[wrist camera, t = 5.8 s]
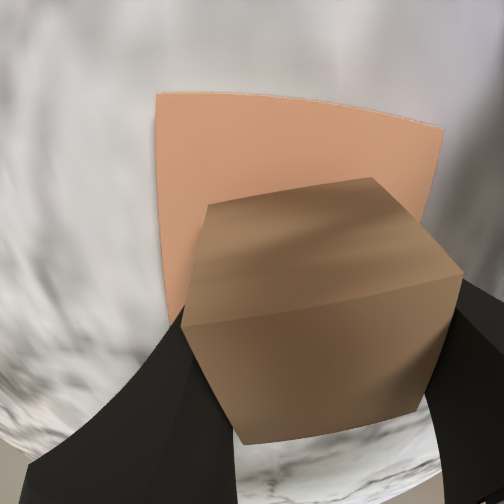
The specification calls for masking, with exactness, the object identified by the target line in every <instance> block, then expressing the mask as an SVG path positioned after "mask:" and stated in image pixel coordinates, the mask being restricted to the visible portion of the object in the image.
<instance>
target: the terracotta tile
mask: <svg viewBox="0 0 504 504" xmlns="http://www.w3.org/2000/svg"><path fill="white" fill-rule="evenodd" d="M443 135H444V130H442V129H440V128H437V127H435V126H433V125H430V124H426V123H423V122H419V121H415V120H411V119H407V118H403V117H399V116H395V115H391V114H387V113H382V112H378V111H373V110H368V109H363V108H358V107H353V106H347V105H341V104H335V103H329V102H323V101H316V100H308V99H301V98H292V97H283V96H273V95H261V94H247V93H227V92H162V93H159V94H156V171H157V194H158V212H159V226H160V239H161V251H162V262H163V272H164V282H165V291H166V299H167V307H168V315H169V322H170V326H171V325H172V323H173V322H174V320H175V319H176V317H177V316H178V314H179V312H180V311H181V309H182V308H183V306H184V305H185V303H186V298H187V293H188V289H189V284H190V279H191V275H192V270H193V266H194V262H195V257H196V253H197V249H198V244H199V240H200V236H201V232H202V228H203V224H204V219H205V215H206V211H207V207H208V205H209V204H214V203H219V202H224V201H229V200H234V199H239V198H244V197H250V196H255V195H261V194H266V193H272V192H278V191H283V190H289V189H295V188H301V187H308V186H314V185H320V184H327V183H333V182H340V181H347V180H354V179H361V178H369V177H372V178H374V179H375V180H376V181H377V182H378V183H379V184H380V185H381V186H382V187H383V188H384V189H385V190H386V191H388V192H389V193H390V194H391V195H392V196H393V197H394V198H395V199H396V200H397V201H398V202H399V203H400V204H401V205H402V206H403V207H404V208H405V209H406V210H407V211H408V212H409V213H410V214H411V215H412V216H413V217H414V218H415V219H416V220H417V221H418V222H419V223H421V219H422V216H423V213H424V210H425V206H426V203H427V200H428V196H429V192H430V189H431V185H432V181H433V178H434V174H435V170H436V166H437V162H438V157H439V153H440V149H441V144H442V139H443Z"/></svg>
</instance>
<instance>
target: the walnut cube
mask: <svg viewBox="0 0 504 504" xmlns="http://www.w3.org/2000/svg"><path fill="white" fill-rule="evenodd" d="M463 275H464V272H463V271H462V270H461V269H460V267H459V266H458V265H457V264H456V263H455V262H454V260H453V259H452V258H451V257H450V256H449V255H448V254H447V252H446V251H445V250H444V249H443V248H442V247H441V246H440V245H439V243H438V242H437V241H436V240H435V239H434V238H433V237H432V236H431V235H430V234H429V233H428V232H427V231H426V229H425V228H424V227H423V226H422V225H421V224H420V223H419V222H418V221H417V220H416V219H415V218H414V217H413V216H412V215H411V214H410V213H409V212H408V211H407V210H406V209H405V208H404V207H403V206H402V205H401V204H400V203H399V202H398V201H397V200H396V199H395V198H394V197H393V196H392V195H391V194H390V193H389V192H388V191H386V190H385V189H384V188H383V187H382V186H381V185H380V184H379V183H378V182H377V181H376V180H375V179H374V178H372V177H369V178H361V179H354V180H347V181H340V182H333V183H327V184H320V185H314V186H308V187H301V188H295V189H289V190H283V191H278V192H272V193H266V194H261V195H255V196H250V197H244V198H239V199H234V200H229V201H224V202H219V203H214V204H209V205H208V207H207V211H206V215H205V219H204V224H203V228H202V232H201V236H200V240H199V244H198V249H197V253H196V257H195V262H194V266H193V270H192V275H191V279H190V284H189V289H188V293H187V298H186V303H185V307H184V312H183V317H182V322H181V329H182V331H183V333H184V335H185V337H186V339H187V341H188V343H189V345H190V347H191V349H192V351H193V353H194V355H195V357H196V359H197V361H198V363H199V365H200V367H201V369H202V371H203V373H204V375H205V377H206V379H207V381H208V383H209V385H210V387H211V388H212V390H213V392H214V394H215V396H216V398H217V400H218V401H219V403H220V405H221V407H222V409H223V411H224V412H225V414H226V416H227V418H228V419H229V421H230V423H231V425H232V426H233V428H234V430H235V432H236V433H237V435H238V437H239V438H240V440H241V442H242V443H243V445H252V444H262V443H271V442H280V441H287V440H294V439H301V438H307V437H313V436H319V435H324V434H330V433H335V432H340V431H344V430H349V429H353V428H358V427H362V426H366V425H370V424H374V423H377V422H381V421H385V420H388V419H392V418H395V417H399V416H402V415H405V414H409V413H412V412H415V411H416V410H417V408H418V406H419V404H420V401H421V399H422V397H423V395H424V392H425V390H426V388H427V385H428V383H429V381H430V378H431V376H432V373H433V371H434V368H435V366H436V363H437V360H438V358H439V355H440V352H441V349H442V347H443V344H444V341H445V338H446V335H447V332H448V329H449V326H450V323H451V319H452V316H453V313H454V309H455V306H456V302H457V299H458V295H459V291H460V287H461V283H462V279H463Z"/></svg>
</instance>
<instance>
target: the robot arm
mask: <svg viewBox="0 0 504 504" xmlns="http://www.w3.org/2000/svg"><path fill="white" fill-rule="evenodd" d="M184 307H185V305H184V306H183V308H182V309H181V311H180V312H179V314H178V316H177V317H176V319H175V320H174V322H173V323H172V325H171V326H170V328H169V329H168V331H167V332H166V334H165V335H164V337H163V338H162V340H161V341H160V342H159V344H158V345H157V346H156V348H155V349H154V351H153V352H152V353H151V355H150V356H149V357H148V359H147V360H146V361H145V363H144V364H143V365H142V366H141V368H140V369H139V370H138V371H137V373H136V374H135V375H134V376H133V377H132V378H131V379H130V380H129V382H128V383H127V384H126V385H125V386H124V387H123V388H122V389H121V390H120V392H119V393H118V394H117V395H115V396H114V397H113V398H112V399H111V400H110V401H109V402H108V403H107V404H106V405H105V406H104V407H103V408H102V409H101V410H100V411H99V412H98V413H97V414H96V415H95V416H94V417H93V418H92V419H90V420H89V421H88V422H87V423H86V424H85V425H84V426H82V427H81V428H80V429H79V430H77V431H76V432H75V433H74V434H72V435H71V436H70V437H69V438H67V439H66V440H65V441H63V442H62V443H61V444H59V445H58V446H56V447H55V448H53V449H52V450H50V451H49V452H47V453H46V454H44V455H43V456H41V457H40V458H38V459H37V460H35V461H34V462H32V463H30V464H29V465H28V469H27V472H26V476H25V480H24V484H23V487H22V491H21V496H20V500H19V504H238V501H237V491H236V478H235V465H234V447H233V426H232V425H231V423H230V421H229V419H228V418H227V416H226V414H225V412H224V411H223V409H222V407H221V405H220V403H219V401H218V400H217V398H216V396H215V394H214V392H213V390H212V388H211V387H210V385H209V383H208V381H207V379H206V377H205V375H204V373H203V371H202V369H201V367H200V365H199V363H198V361H197V359H196V357H195V355H194V353H193V351H192V349H191V347H190V345H189V343H188V341H187V339H186V337H185V335H184V333H183V331H182V329H181V322H182V317H183V312H184ZM424 394H425V397H426V400H427V403H428V407H429V410H430V414H431V417H432V421H433V425H434V430H435V434H436V438H437V443H438V448H439V454H440V460H441V467H442V474H443V484H444V497H445V504H481V503H483V502H486V504H504V302H502V301H500V300H498V299H496V298H495V297H493V296H491V295H489V294H488V293H486V292H484V291H483V290H481V289H479V288H477V287H476V286H474V285H472V284H471V283H469V282H468V281H466V280H464V279H462V283H461V287H460V291H459V295H458V299H457V302H456V306H455V309H454V313H453V316H452V319H451V323H450V326H449V329H448V332H447V335H446V338H445V341H444V344H443V347H442V349H441V352H440V355H439V358H438V360H437V363H436V366H435V368H434V371H433V373H432V376H431V378H430V381H429V383H428V385H427V388H426V390H425V392H424Z"/></svg>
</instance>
